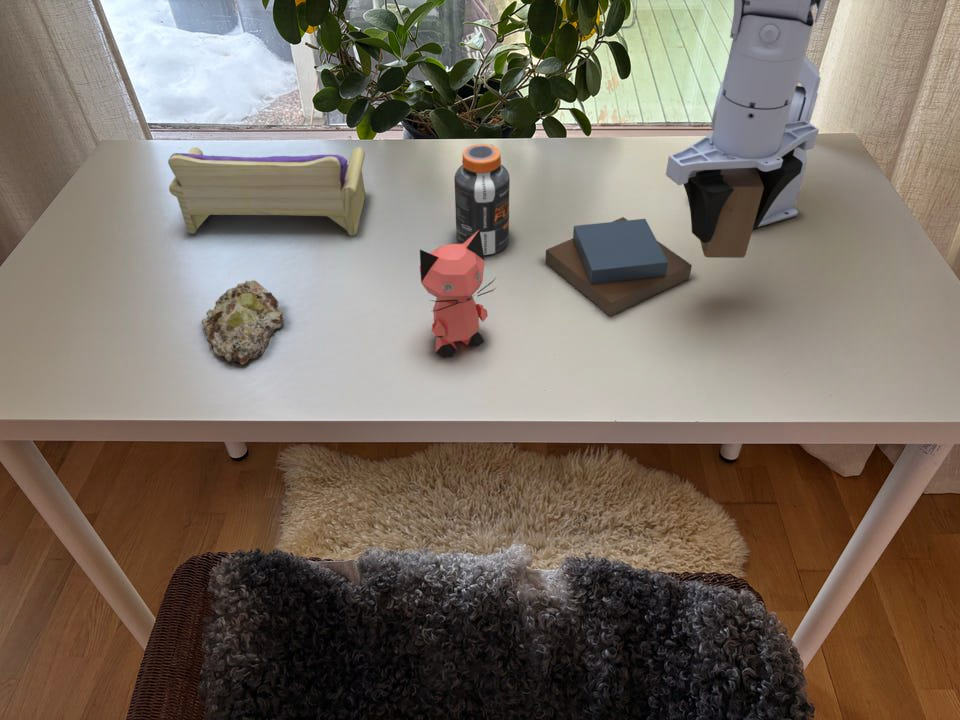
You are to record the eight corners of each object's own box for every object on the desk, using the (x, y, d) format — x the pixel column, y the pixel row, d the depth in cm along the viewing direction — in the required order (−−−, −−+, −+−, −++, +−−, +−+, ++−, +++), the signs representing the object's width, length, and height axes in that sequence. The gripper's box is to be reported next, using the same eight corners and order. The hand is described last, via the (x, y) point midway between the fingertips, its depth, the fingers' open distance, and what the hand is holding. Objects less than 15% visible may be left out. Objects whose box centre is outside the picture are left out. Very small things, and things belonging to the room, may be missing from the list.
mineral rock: (198, 284, 80) (269, 260, 79) (220, 313, 83) (289, 290, 82) (185, 358, 72) (264, 333, 72) (210, 387, 76) (286, 363, 75)
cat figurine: (439, 373, 73) (431, 272, 65) (408, 331, 78) (397, 231, 69) (504, 347, 76) (504, 247, 67) (470, 308, 80) (467, 209, 72)
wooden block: (703, 259, 74) (719, 186, 68) (696, 234, 77) (712, 162, 71) (745, 259, 74) (765, 186, 68) (737, 235, 77) (756, 162, 71)
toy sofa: (371, 196, 96) (361, 118, 88) (362, 237, 89) (350, 157, 82) (204, 196, 96) (180, 119, 89) (183, 237, 90) (155, 158, 83)
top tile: (643, 232, 86) (645, 218, 85) (665, 276, 80) (668, 262, 79) (572, 239, 85) (573, 225, 84) (590, 284, 80) (592, 270, 78)
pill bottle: (503, 259, 86) (504, 169, 78) (451, 254, 87) (446, 164, 79) (513, 229, 90) (514, 140, 82) (463, 224, 91) (459, 135, 83)
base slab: (621, 229, 89) (623, 216, 88) (689, 278, 83) (692, 265, 82) (545, 262, 85) (545, 249, 84) (610, 316, 79) (611, 303, 77)
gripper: (713, 133, 60) (684, 273, 69) (860, 95, 64) (813, 232, 73) (662, 96, 64) (642, 231, 74) (802, 63, 68) (765, 195, 78)
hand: (724, 229), depth 74 cm, fingers closed on wooden block, 5 cm apart
